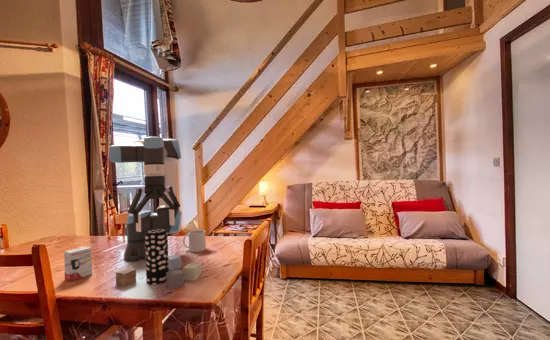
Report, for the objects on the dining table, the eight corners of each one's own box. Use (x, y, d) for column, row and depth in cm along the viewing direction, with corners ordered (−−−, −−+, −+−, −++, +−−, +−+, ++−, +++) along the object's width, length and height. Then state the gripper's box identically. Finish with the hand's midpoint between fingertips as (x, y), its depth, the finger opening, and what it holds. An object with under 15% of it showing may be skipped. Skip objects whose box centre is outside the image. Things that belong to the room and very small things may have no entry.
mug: (209, 248, 149) (208, 230, 149) (195, 253, 141) (195, 234, 141) (195, 246, 155) (195, 229, 155) (182, 250, 147) (181, 232, 147)
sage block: (183, 280, 107) (183, 267, 107) (189, 275, 112) (189, 263, 112) (195, 280, 106) (194, 268, 106) (200, 275, 111) (200, 263, 111)
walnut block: (116, 284, 105) (115, 272, 105) (127, 279, 109) (127, 267, 109) (124, 286, 103) (124, 273, 103) (136, 281, 107) (135, 269, 107)
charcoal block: (166, 285, 103) (166, 272, 103) (179, 281, 106) (179, 269, 106) (170, 289, 99) (170, 276, 99) (184, 285, 102) (183, 272, 102)
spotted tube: (151, 276, 111) (149, 229, 111) (171, 275, 112) (170, 228, 112) (143, 285, 103) (141, 234, 103) (165, 284, 104) (163, 233, 104)
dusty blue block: (165, 268, 121) (165, 257, 121) (175, 265, 125) (175, 254, 125) (171, 271, 118) (170, 259, 118) (181, 267, 121) (181, 256, 121)
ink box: (69, 281, 109) (68, 252, 109) (64, 279, 112) (63, 251, 111) (92, 274, 116) (91, 247, 116) (87, 272, 119) (86, 245, 119)
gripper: (124, 176, 95) (126, 235, 95) (187, 174, 114) (189, 223, 114) (117, 176, 100) (118, 233, 100) (178, 174, 119) (179, 222, 119)
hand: (156, 228), depth 107 cm, fingers open, 13 cm apart
